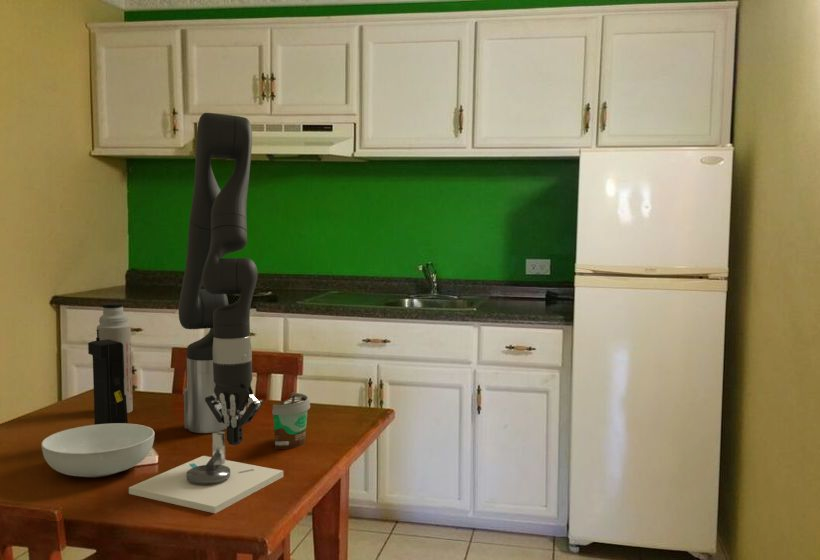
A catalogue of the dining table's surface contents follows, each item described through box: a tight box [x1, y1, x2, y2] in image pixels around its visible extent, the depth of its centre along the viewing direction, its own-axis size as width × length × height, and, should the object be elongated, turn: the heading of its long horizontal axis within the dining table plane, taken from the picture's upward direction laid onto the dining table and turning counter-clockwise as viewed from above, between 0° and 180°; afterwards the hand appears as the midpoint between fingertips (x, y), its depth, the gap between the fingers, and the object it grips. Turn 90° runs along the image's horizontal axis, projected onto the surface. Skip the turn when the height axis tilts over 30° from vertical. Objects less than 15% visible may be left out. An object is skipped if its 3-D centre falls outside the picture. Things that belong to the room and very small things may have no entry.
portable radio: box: [87, 329, 129, 425], centre depth 166 cm, size 8×6×25 cm
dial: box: [186, 431, 230, 484], centre depth 144 cm, size 13×8×6 cm, turn 0°
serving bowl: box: [40, 423, 155, 478], centre depth 150 cm, size 21×21×7 cm
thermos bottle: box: [96, 302, 134, 414], centre depth 192 cm, size 8×8×28 cm
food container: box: [271, 392, 311, 450], centre depth 167 cm, size 12×6×10 cm, turn 168°
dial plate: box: [128, 455, 284, 514], centre depth 142 cm, size 20×20×1 cm
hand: (234, 444), depth 150 cm, fingers closed
